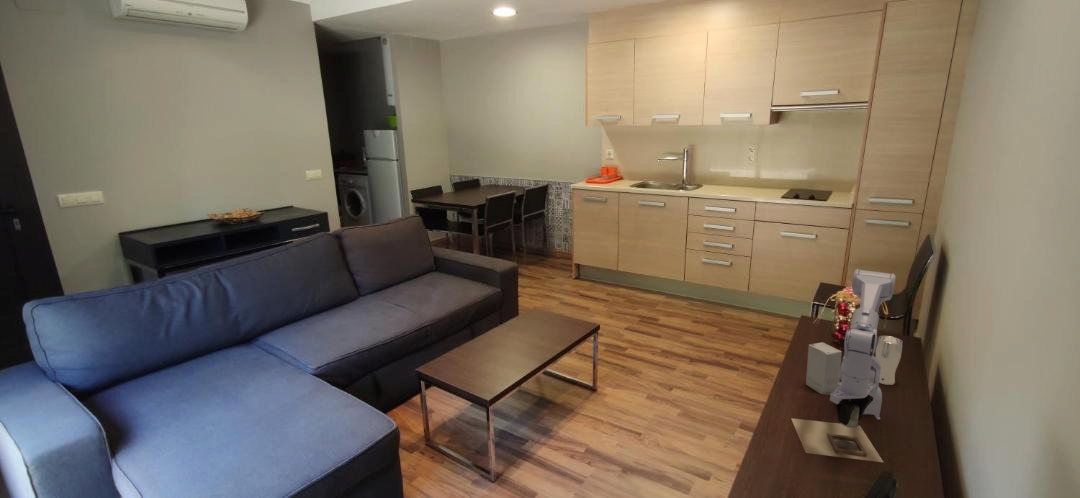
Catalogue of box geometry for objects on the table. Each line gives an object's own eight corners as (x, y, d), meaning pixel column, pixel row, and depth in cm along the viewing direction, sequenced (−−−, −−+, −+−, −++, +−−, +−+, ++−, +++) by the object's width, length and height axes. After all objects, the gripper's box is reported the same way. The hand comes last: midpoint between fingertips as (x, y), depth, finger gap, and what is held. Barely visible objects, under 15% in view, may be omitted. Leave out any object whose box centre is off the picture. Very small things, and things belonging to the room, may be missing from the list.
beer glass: (874, 383, 163) (880, 342, 160) (869, 374, 170) (875, 334, 166) (899, 387, 161) (906, 345, 157) (893, 377, 167) (900, 336, 163)
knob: (848, 418, 131) (850, 400, 130) (861, 426, 127) (863, 408, 126) (836, 420, 130) (837, 402, 129) (848, 428, 127) (850, 410, 125)
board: (859, 429, 139) (860, 422, 139) (883, 466, 124) (884, 458, 124) (790, 421, 144) (791, 415, 143) (805, 456, 129) (806, 449, 128)
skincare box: (838, 394, 158) (844, 351, 154) (822, 396, 156) (828, 354, 153) (818, 381, 166) (823, 341, 162) (803, 383, 164) (808, 343, 161)
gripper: (860, 361, 132) (853, 406, 135) (821, 372, 126) (815, 419, 130) (886, 373, 125) (879, 420, 129) (847, 385, 120) (840, 434, 123)
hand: (849, 420), depth 129 cm, fingers closed on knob, 4 cm apart
